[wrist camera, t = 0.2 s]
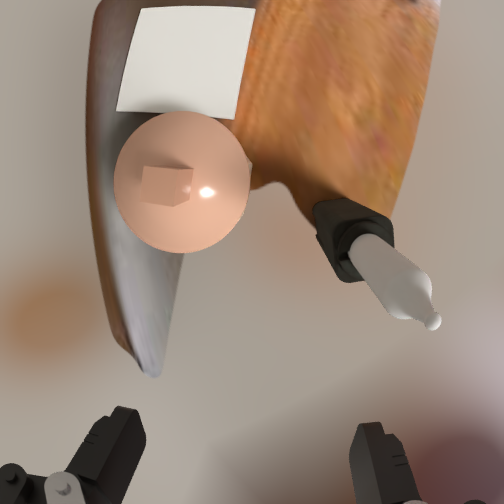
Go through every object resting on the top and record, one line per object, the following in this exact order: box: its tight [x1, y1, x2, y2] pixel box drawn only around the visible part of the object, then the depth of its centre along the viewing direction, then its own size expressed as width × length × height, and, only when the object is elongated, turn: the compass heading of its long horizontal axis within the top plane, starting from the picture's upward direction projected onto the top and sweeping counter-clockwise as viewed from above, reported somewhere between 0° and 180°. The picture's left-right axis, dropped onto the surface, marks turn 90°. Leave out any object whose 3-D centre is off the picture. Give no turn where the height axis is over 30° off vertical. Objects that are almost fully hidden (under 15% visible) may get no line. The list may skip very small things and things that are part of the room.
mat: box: [116, 6, 255, 120], centre depth 31 cm, size 15×15×1 cm
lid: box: [114, 111, 250, 253], centre depth 27 cm, size 14×14×6 cm
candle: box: [313, 198, 441, 330], centre depth 23 cm, size 5×5×25 cm
